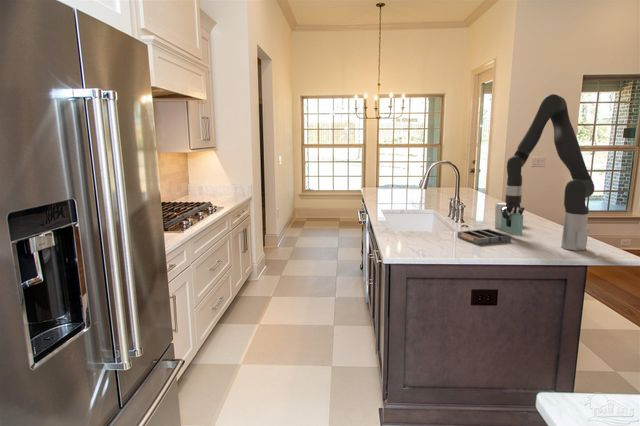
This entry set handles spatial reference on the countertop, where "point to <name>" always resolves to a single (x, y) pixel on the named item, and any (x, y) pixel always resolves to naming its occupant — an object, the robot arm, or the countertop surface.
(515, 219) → the panel
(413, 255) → the countertop surface
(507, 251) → the countertop surface
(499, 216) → the skincare box
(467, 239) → the rack
